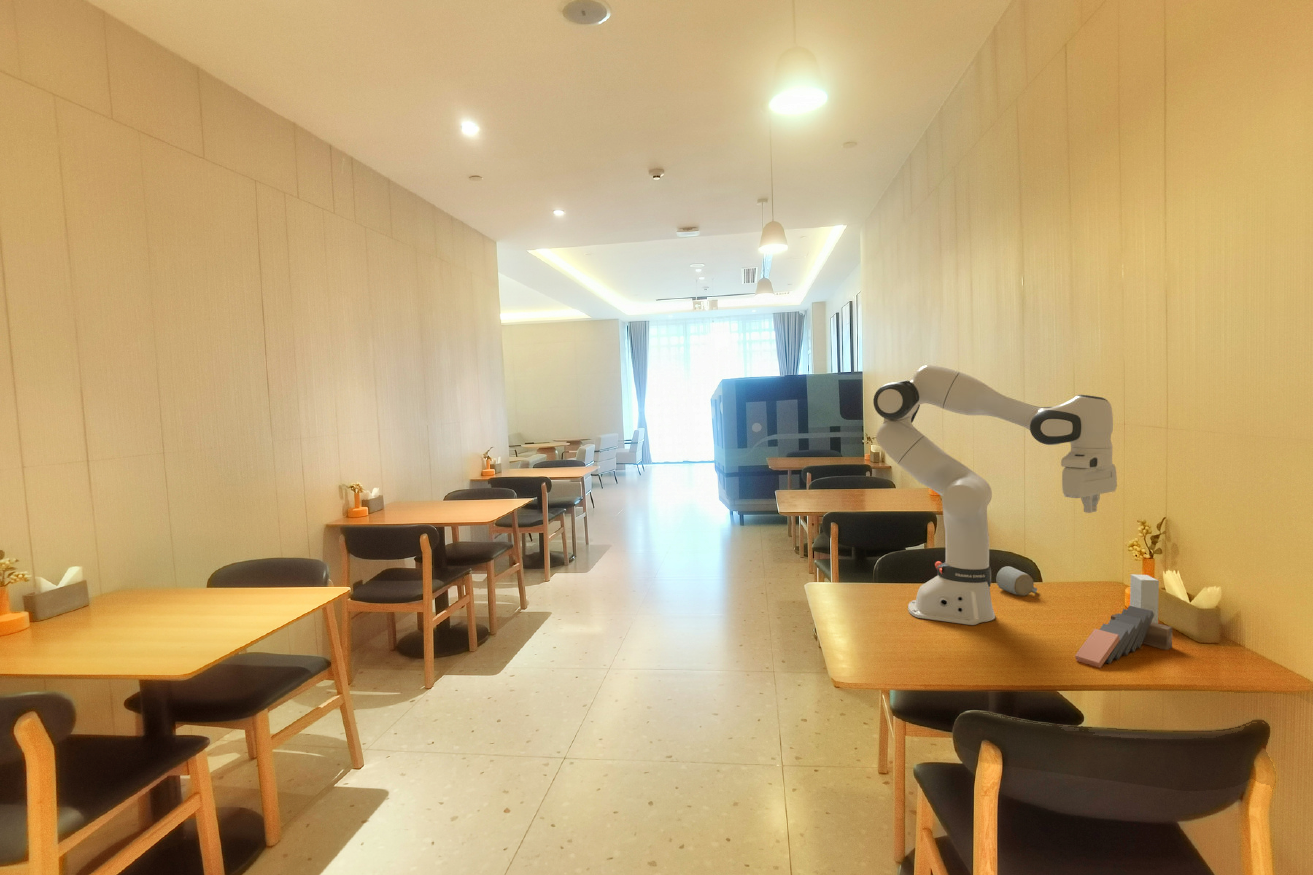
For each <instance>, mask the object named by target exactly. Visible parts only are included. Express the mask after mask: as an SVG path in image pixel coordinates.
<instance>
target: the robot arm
mask: <svg viewBox="0 0 1313 875" xmlns="http://www.w3.org/2000/svg"><path fill="white" fill-rule="evenodd" d="M872 403H873V407H874V410H875V411H876V413H877V415H878V416H880V417H881V418H883V422H882V424H881V425H880V427H879V428H878V429H877V432H876V435H875V436H876V437H875V438H876V442H877V444H878V445H879V446H880V447H881V449H882V450H883V451H884V452H885V453H886V454H887V456H888V457H889V458H891V460H893V461H894V462H895V463H896V464H897V465H898V466H899V467H901V468H902V469H903V470H904V471H905V472H906V473H908V474H909V475H910V476H911V477H912V478H914V480H916V481H917V482H918V483H919V484H921V485H924V486H926V487H927V488H929V489H931V490H933V491H934V492H935V493H937V494H938V495H940V496H941V501H942V502H941V504H942V505H941V506H942V516H943V525H944V533H945V534H944V535H945V561H944V562H942V561H939V560H938V561H935V563H934V566H935V569H936V570H937V575H936V576H934V577H933V578H931V579H930V580H928V581H927V582H924V583H923V584H921V586H920V587H919V588H918V591H917V594H916V597H915V598H916V599H913V600H911V601H910V602H908V606H907V609H908V610H907V611H908V613H909V614H910V615H912V616H913V617H915V618H918V619H926V620H933V621H941V622H948V623H955V624H962V625H970V626H975V625H978V624H980V623H986V622H990V621H993V620H994V619H995V618H996V615H995V614H996V613H995V611H994V608H993V602H992V596H991V588H990V587H991V584H992V570H991V569H992V568H991V566H990V536H989V526H988V506H989V505H990V503H991V500H992V497H993V491H992V487H991V486H990V484H989V483H988V481H987V480H986V479H985V478H983V477H981V476H980V475H979V474H978V473H976V472H975V471H974V470H972V469H971V468H969V467H968V466H967V465H965V464H963V463H961V461H959V460H957V459H956V458H954V457H953V456H951V455H950V454H948V453H947V452H946V451H945V450H943V449H942V448H941V447H939V446H938V445H937V444H936V443H934V442H933V441H932V440H930V438H928V437H927V436H926V435H924V434H923V433H922V432H921V431H919V430H918V429H917V428H916V427H915V426H914V425H913V422H914V420H915V418H916V416H917V413H918V412H919V409H920V406H921V405H923V404H927V405H932V406H935V407H938V408H940V409H944V410H945V411H949V412H952V413H956V414H960V415H964V416H965V415H966V416H986V417H987V416H988V417H993V418H998V419H1001V420H1004V421H1006V422H1009V423H1012V424H1015V425H1017V426H1021V427H1023V428H1025V429H1028V430H1029V431H1030V434H1031V436H1032V437H1033V439H1035V441H1037V442H1038V443H1040V444H1042V445H1046V446H1056V445H1060V444H1065V443H1069V444H1070V450H1069V452H1068V453H1067V454H1066V455H1065V456H1063V457H1062V458H1061V460H1060V464H1061V467H1063V470H1062V473H1061V474H1062V476H1061V477H1062V478H1061V479H1062V480H1061V483H1062V484H1061V486H1062V494H1063V496H1064V497H1065V498H1071V499H1080V500H1081V503H1082V504H1083V512H1084V513H1086V514H1087V513H1088V514H1091V513H1095V512H1097V511H1098V504H1099V501H1100V499H1101V495H1102V494H1107V493H1108V494H1109V493H1111V492H1112V493H1113V492H1116V490H1117V486H1118V484H1117V483H1118V482H1117V480H1118V478H1117V468H1116V466H1115V464H1114V463H1113V444H1112V443H1113V442H1112V439H1111V438H1112V434H1113V429H1114V427H1113V426H1114V422H1113V421H1114V420H1113V416H1114V415H1113V408H1112V404H1111V402H1110V401H1109V400H1108V399H1107V398H1105V397H1101V396H1097V395H1087V394H1086V395H1085V394H1077V395H1075V396H1074V397H1072V398H1070V399H1069V400H1067V401H1064V402H1063V403H1059V404H1057V405H1054V406H1043V407H1042V406H1036V405H1032V404H1029V403H1026V402H1023V401H1021V400H1017V399H1014V398H1012V397H1009V396H1007V395H1003V394H1002V393H1001V392H999V391H997V390H995V389H993V388H992V387H990V386H989V385H987V384H986V383H984V382H982V381H981V380H979V379H977V378H975V377H973V376H971V375H968V374H966V373H963V372H960V371H958V370H955V369H951V368H947V367H943V366H939V365H938V366H937V365H931V364H927V365H926V364H925V365H923V366H921V367H920V368H918V369H917V370H916V371H915V373H914V375H913V376H912V378H911V380H908V379H907V380H906V379H905V380H900V381H893V382H887V383H885V384H883V385H881V386H880V387H879V388H878V389H877V390H876V392H875V394H874V396H873V402H872Z"/></svg>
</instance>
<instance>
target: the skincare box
mask: <svg viewBox="0 0 1313 875" xmlns="http://www.w3.org/2000/svg"><path fill="white" fill-rule="evenodd" d="M1129 587H1130V588H1129V591H1130V592H1129V594H1130V595H1129V596H1130V597H1129V606H1133V607H1137V608H1142V609H1146V610H1151V611H1153V613H1154V617H1153V619H1152V621H1151V622H1154V623H1158V624H1159V597H1160V596H1159V595H1160V594H1159V593H1160V591H1159V590H1160V589H1159V588H1160V580H1158V579H1156V578H1154V577H1152V576H1150V575H1148V574H1130V586H1129Z"/></svg>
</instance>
